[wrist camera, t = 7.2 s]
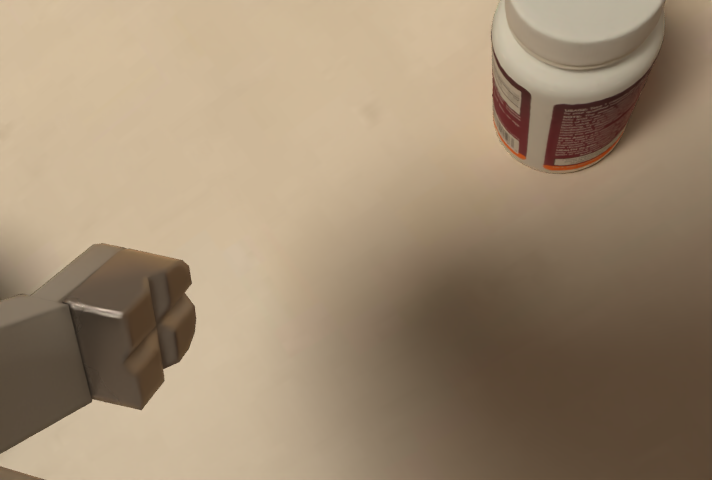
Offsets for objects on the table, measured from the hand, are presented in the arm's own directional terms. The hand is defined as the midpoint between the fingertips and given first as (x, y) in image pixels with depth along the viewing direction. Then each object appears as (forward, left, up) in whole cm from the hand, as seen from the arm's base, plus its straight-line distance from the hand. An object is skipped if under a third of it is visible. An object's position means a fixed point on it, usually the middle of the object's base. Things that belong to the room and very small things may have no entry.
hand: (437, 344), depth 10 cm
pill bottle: (+8, -7, -14) cm, 17 cm away
